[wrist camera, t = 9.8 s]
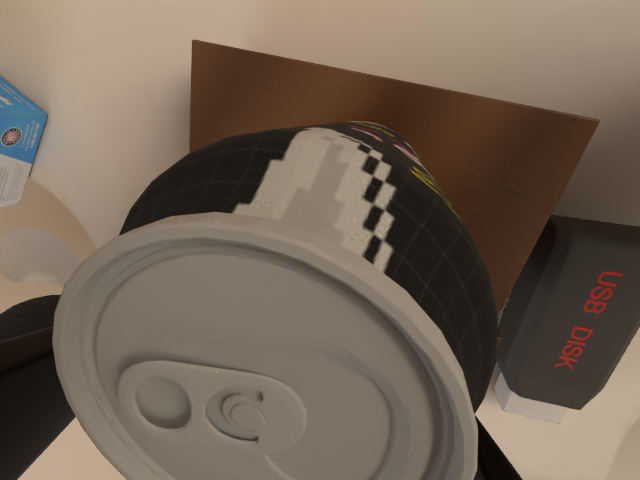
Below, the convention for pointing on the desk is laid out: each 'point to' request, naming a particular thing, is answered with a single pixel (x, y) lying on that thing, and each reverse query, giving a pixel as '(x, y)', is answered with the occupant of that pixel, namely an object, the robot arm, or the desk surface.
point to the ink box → (17, 141)
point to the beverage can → (284, 317)
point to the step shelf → (409, 139)
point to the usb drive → (568, 317)
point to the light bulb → (28, 317)
